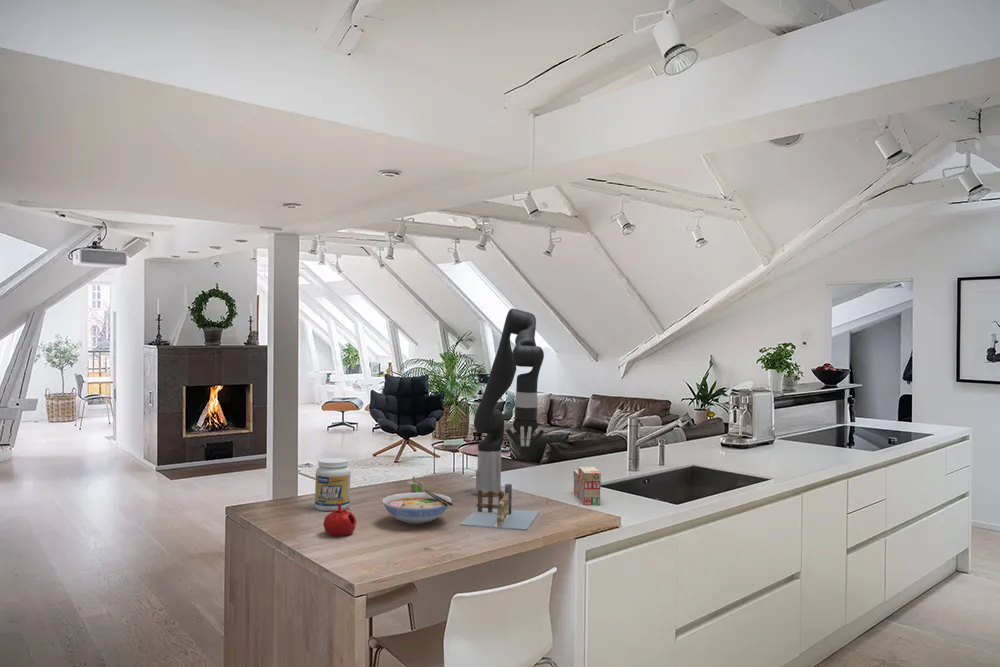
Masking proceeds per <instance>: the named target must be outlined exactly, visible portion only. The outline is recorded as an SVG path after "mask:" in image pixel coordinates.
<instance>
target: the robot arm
mask: <svg viewBox="0 0 1000 667" xmlns="http://www.w3.org/2000/svg"><path fill="white" fill-rule="evenodd" d="M505 317H506V318H505V321H504V325H503V328H502V333H501V337H500V341H499V345H498V348H497V351H496V354H495V357H494V360H493V363H492V366H491V370H490V372H489V376H488V381H487V383H486V386H485V388H484V392H483V395H482V397H481V401H480V402H479V404H478V407H477V410H476V412H475V414H474V419H473V427H474V429H475V431H476V432H477V433H479V434H486V436H485V437H484V438H483V439H482V440H480V441H479V442H478V444H477V469H476V470H475V495H477V491H478V490H483V491H485V492H488V491H493V492H499V491H501V489H502V488H501V485H502V484H501V483H502V481H501V478H502V447H503V444H504V436H505V434H504V433H505V416H504V414H503V412H502V410H500V409H497V408H495V407H496V406H497V403H498V402H499V400H500V399H501V398H502V397H503V396H504V395H505V393H507V391H508V390H509V389H510V387H511V386H512V384H513V381H514V378H515V375H516V372H517V367H522V368H524V367H525V368H531V370H529V372H526V373H521V374H518V375H516V376H517V377H516V385H515V386H516V387H515V388H516V390H515V398H514V421H513V423H512V426H510V427H509V428H506V432H507V434H508V435H509V437H510V438H511V439H512V440H513V442H514V443H515V444H516V445H518V446H519V448H520V449H519V450H520V451H519V454H520V456H522V458H528V457H529V455H530V446H534V445H535V444H537V442H538V441H539V439H540V438H541V437H542V436H543V435H544V433H545V431H544V429H542V428H540V427H539V423H538V404H539V402H538V400H539V398H538V380H539V374H540V370H541V367H542V365H543V361H544V358H545V352H544V350H543V348H542V347H540V346H539V345H537V343H536V328H537V319H536V316H535V315H534V314H533V313H531V312H528V311H525V310H522V309H517V308H510V309H509V310H508V312H507V314H506V316H505ZM512 334H513V335H516V337H515V340H514V344H515V346H514V348H513V350H512V345H511V336H512ZM515 431H516V433H517V434H518V435H519V439H518V438H517V436H516V435H515ZM534 433H536V434H535V435H534V437H533V438H531V436H532V435H533V434H534ZM477 496H478V495H477Z"/></svg>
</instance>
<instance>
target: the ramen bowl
mask: <svg viewBox="0 0 1000 667" xmlns="http://www.w3.org/2000/svg"><path fill="white" fill-rule="evenodd" d="M423 491H424V493H421V492H419V493H411V492H404V493H396V494H392V495H388V496H386V497H384V498H382V503H383V505H384V507H385V509H386V511H387V512H388V513H389V515H390V516H391V517H393V518H394V519H396V520H399V521H400V522H404V523H406V524H409V525H412V526H413V525H415V526H416V525H424V524H427V523H428V522H430V521H434V520H436V519H439V517H441V516H442V515H443V514H444V513H445V512H446V511H447V509H448V508H449V506H451V507H452V506H453V504H454V503H452V498H451V497H449V496H447V495H445V494H440V493H434V492H431V491H428V490H426V489H424V490H423Z"/></svg>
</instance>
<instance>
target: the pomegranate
mask: <svg viewBox="0 0 1000 667" xmlns="http://www.w3.org/2000/svg"><path fill="white" fill-rule="evenodd" d="M337 508H338V511H337V510H333V511H331V512H330V513H328V514H327V515H326V516H324V519H323V527H324V528H323V529H324V532H325V533H326V534H328V535H330V536H332V537H344V536H345V537H346V536H350V535H351V534H353V532H354V531H355V530H356V526H357V518H356V517H355V515H354V514H353V513H352V510H351V508H350V507H348V508H346V509H343V510H341V504H340V503H339V504H338V507H337ZM330 510H331V509H330ZM326 512H329V511H328V510H327V511H326Z"/></svg>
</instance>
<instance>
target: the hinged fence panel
mask: <svg viewBox="0 0 1000 667" xmlns="http://www.w3.org/2000/svg"><path fill="white" fill-rule="evenodd" d="M497 505H498V506H497V525H500V526H501V525H502V522H504V518H506V517H507V515H508V514H509V493H506V494H505V493H504V496H503V498H502V499H501V500H500V502H499V503H498V502H497Z"/></svg>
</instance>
